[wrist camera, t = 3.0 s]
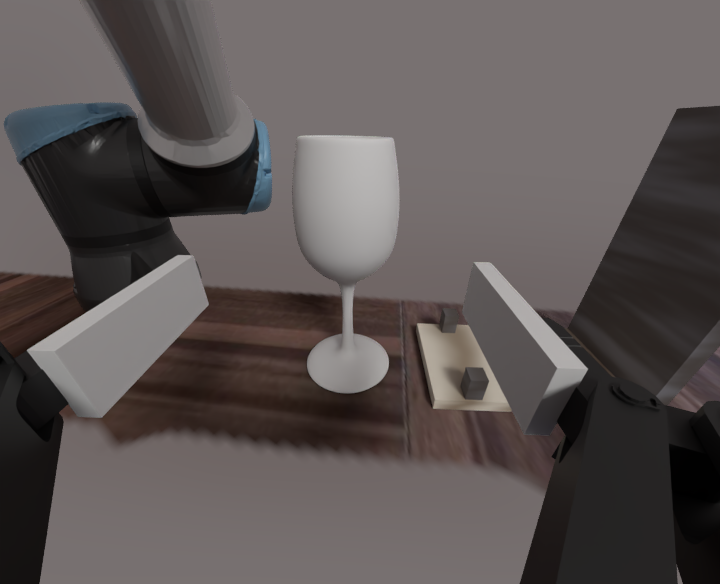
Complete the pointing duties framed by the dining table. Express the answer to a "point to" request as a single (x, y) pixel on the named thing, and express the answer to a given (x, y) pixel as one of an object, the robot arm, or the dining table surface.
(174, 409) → the dining table surface
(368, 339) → the wineglass
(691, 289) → the pegged display stand
